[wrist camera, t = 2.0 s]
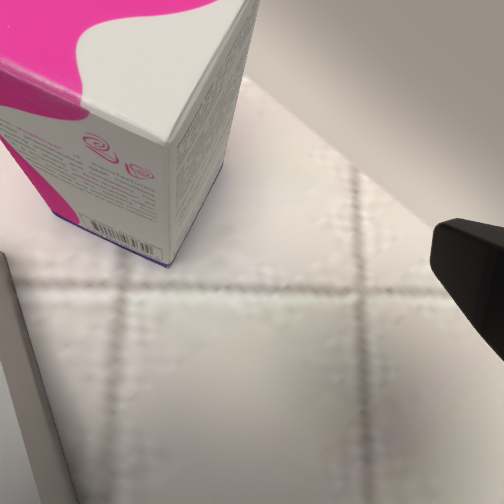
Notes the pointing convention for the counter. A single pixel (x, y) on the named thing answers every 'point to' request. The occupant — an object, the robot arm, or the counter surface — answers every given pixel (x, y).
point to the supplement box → (123, 109)
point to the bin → (26, 416)
